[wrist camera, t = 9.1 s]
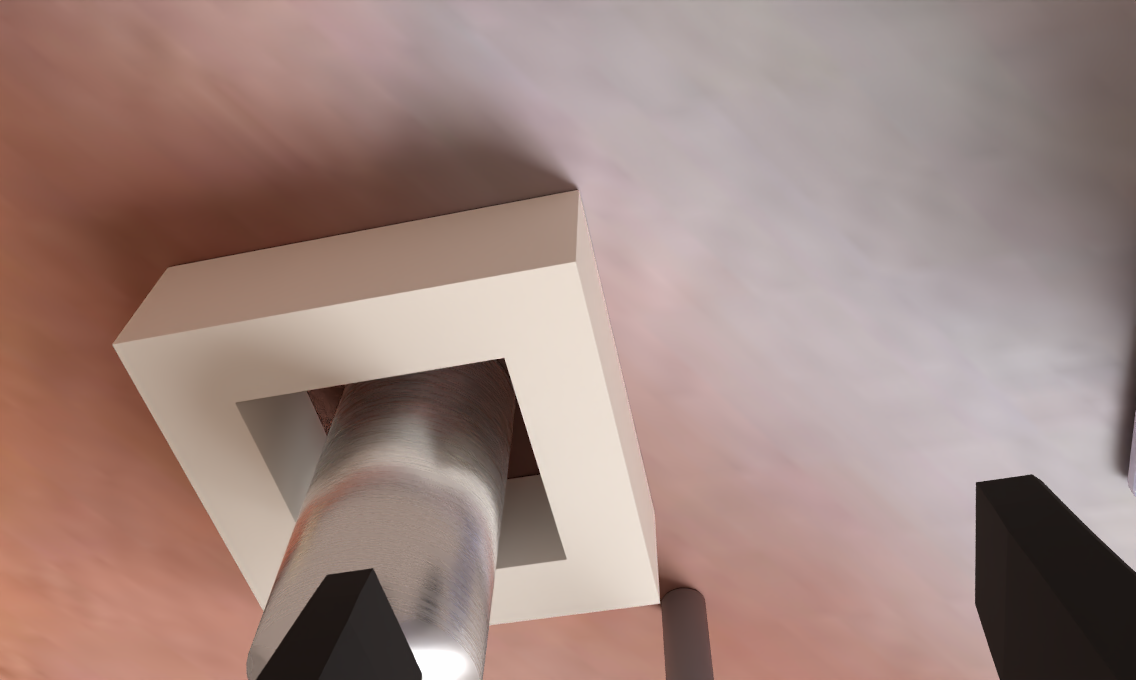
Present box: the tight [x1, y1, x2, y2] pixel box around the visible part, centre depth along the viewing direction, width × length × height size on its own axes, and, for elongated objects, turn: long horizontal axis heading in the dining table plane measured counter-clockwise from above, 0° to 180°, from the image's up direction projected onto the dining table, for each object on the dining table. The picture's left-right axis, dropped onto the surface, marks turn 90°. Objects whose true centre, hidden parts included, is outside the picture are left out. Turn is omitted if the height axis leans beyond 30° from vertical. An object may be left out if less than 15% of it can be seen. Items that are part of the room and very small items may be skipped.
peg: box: [247, 359, 515, 680], centre depth 20 cm, size 4×4×8 cm
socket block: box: [112, 190, 660, 625], centre depth 22 cm, size 9×9×3 cm
